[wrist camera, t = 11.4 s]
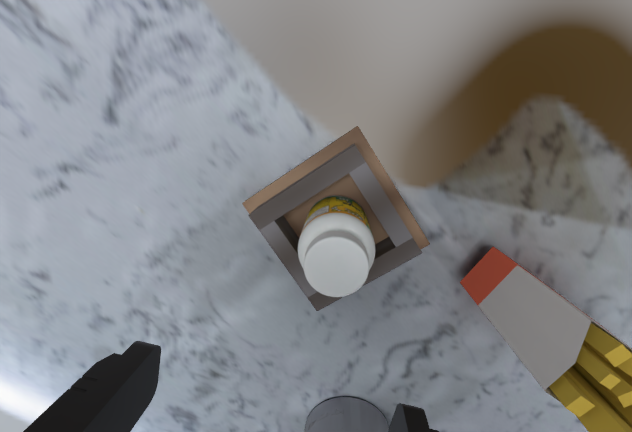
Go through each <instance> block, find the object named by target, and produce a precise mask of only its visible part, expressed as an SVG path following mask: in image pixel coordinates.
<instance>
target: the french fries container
mask: <svg viewBox="0 0 632 432" xmlns="http://www.w3.org/2000/svg"><path fill="white" fill-rule="evenodd" d="M460 283H461V284H462V286H463V287H464V288H465V290H466V291H467V292H468V293H469V295H470V296H471V297H472V299H473V300H474V301H475V302H476V304H477V305H478V306H479V307H480V309H481V310H482V311H483V313H484V314H485V315H486V316H487V318H488V319H489V320H490V322H491V323H492V324H493V325H494V327H495V328H496V329H497V331H498V332H499V333H500V334H501V336H502V337H503V338H504V340H505V341H506V342H507V343H508V345H509V346H510V347H511V348H512V350H513V351H514V352H515V354H516V355H517V356H518V357H519V359H520V360H521V361H522V363H523V364H524V365H525V366H526V368H527V369H528V370H529V372H530V373H531V374H532V375H533V377H534V378H535V379H536V381H537V382H538V383H539V384H540V386H541V387H542V388H543V389H544V391H546V392H547V393H549V394H550V395H551V396H553V397H554V398H556V399H557V400H559V401H560V402H561V403H562V404H563V405H564V406H565V408H567V409H568V410H570V411H571V412H572V413H574V414H575V415H576V416H577V418H578V419H579V420H580V421H581V423H582V424H583V425H584V426H585V427H586V429H587V430H588V431H589V432H632V348H630V347H629V346H628V345H626V344H625V343H624V342H622V341H621V340H620V339H618V338H617V337H616V336H614V335H613V334H612V333H610V332H609V331H608V330H606V329H605V328H604V327H602V326H601V325H600V324H598V323H597V322H596V321H594V320H593V319H592V318H590V317H589V316H588V315H586V314H585V313H584V312H582V311H581V310H580V309H578V308H577V307H576V306H574V305H573V304H572V303H570V302H569V301H568V300H566V299H565V298H563V297H562V296H561V295H559V294H558V293H557V292H555V291H554V290H553V289H551V288H550V287H549V286H547V285H546V284H544V283H543V282H542V281H540V280H539V279H538V278H536V277H535V276H534V275H532V274H531V273H529V272H528V271H527V270H525V269H524V268H523V267H521V266H520V265H518V264H517V263H516V262H514V261H513V260H512V259H510V258H509V257H507V256H506V255H505V254H503V253H502V252H500V251H499V250H498V249H496V248H495V247H492V248H491V249H490V250H489V251H488V252H487V253H486V255H485V256H484V257H483V258H482V259H481V260H480V261H479V262H478V263H477V264H476V265H475V266H474V268H473V269H472V270H471V271H470V272H469V273H468V274H467V275H466V276H465V277H464V278H463V279H462V280H461V282H460Z"/></svg>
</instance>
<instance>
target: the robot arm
mask: <svg viewBox="0 0 632 432" xmlns="http://www.w3.org/2000/svg"><path fill="white" fill-rule="evenodd" d="M160 356H161V347H160V346H158V345H154V344H149V343H145V342H141V341H136V342H134V343H133V344H132V345H131V346H130V347H129V348H128V349H127V350H126V351H125V352H124V353H123V354H122V355H119V354H115V353H114V354H112V355H110V356H108V357H106V358H104V359H102V360H101V361H99V362H97V363H96V364H94V365H93V366H92V367H91V368H90V369H89V370H88V371H87V372H86V373H85V374H84V375H83V377H82V378H80V379H79V380H77V381H76V382H75V383H74V384H73V385H72V386H71V388H70V389H68V390H67V391H66V392H65V393H64V394H63V395H62V396H61V397H59V398H58V399H57V400H56V401H55V402H54V403H53V404H52V405H51V406H50V407H49V408H48V409H47V410H46V411H45V412H44V413H42V414H41V415H40V416H39V417H38V418H37V419H36V420H35V421H34V422H33V423H32V424H31V425H30V426H29V427H28V428H27V429H26V430H24V431H23V432H130V431H131V430H132V428H133V427H134V425H135V424H136V422H137V421H138V420H139V418H140V417H141V415H142V414H143V413H144V411H145V410H146V408H147V407H148V405H149V404H150V402H151V400H152V398H153V396H154V394H155V391H156V388H157V384H158V375H159V365H160ZM305 432H439V431H437V430H433V429H429V425H428V422H427V419H426V415H425V412H424V410H423V409H422V408H418V407H414V406H410V405H405V404H401V403H399V404H398V405H397V407H396V410H395V413H394V416H393V419H392V422H391V425H390V428H389V426H388V423H387V421H386V418H385V417H384V416H383V414H382V413H381V412H380V411H379V410H378V409H377V408H376V407H375V406H373V405H372V404H370V403H368V402H366V401H363V400H361V399H357V398H352V397H338V398H333V399H330V400H327V401H324V402H323V403H321V404H319V405H318V406H316V407H315V408H314V409H313V410H312V411H311V413H310V415H309V416H308V418H307V422H306V426H305Z"/></svg>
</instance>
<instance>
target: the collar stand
mask: <svg viewBox="0 0 632 432" xmlns="http://www.w3.org/2000/svg"><path fill="white" fill-rule="evenodd" d="M332 195H339V196H344V197H348V198H350V199H352V200H354V201H356V202H357V203H358V204H359V205H360V206H361V207H362V209H363V210H364V212H365V214H366V216H367V220H368V223H369V226H370V229H371V232H372V235H373V238H374V242H375V258H374V262H373V264H372V266H371V268H370V270H369V273H368V277H367V279H366V281H365V283H364V284H363V285H362V286H364V285H365V284H367V283H369V282H371V281H373V280H374V279H376V278H378V277H380V276H382V275H383V274H385V273H387V272H389V271H391V270H393V269H394V268H396V267H398V266H400V265H402V264H403V263H405V262H407V261H409V260H411V259H412V258H414V257H416V256H418V255H420V254H421V253H422V251H421V250H420V249H422V248H424V247H426V246H428V245H429V244H430V243H429V241H428V240H427V238H426V237H425V235H424V233H423V232H422V230H421V228H420V227H419V225H418V223H417V222H416V220H415V219H414V217H413V215H412V214H411V212H410V210H409V209H408V207H407V205H406V204H405V202H404V201H403V199H402V197H401V196H400V194H399V192H398V191H397V189H396V188H395V186H394V184H393V183H392V181H391V179H390V178H389V176H388V174H387V173H386V171H385V170H384V168H383V166H382V165H381V163H380V161H379V160H378V158H377V156H376V155H375V153H374V152H373V150H372V148H371V147H370V145H369V144H368V142H367V140H366V139H365V137H364V135H363V134H362V132H361V130H360V129H359V127H358V126H357V127H355V128H354V129H352V130H351V131H349V132H348V133H346V134H345V135H343V136H342V137H340V138H339V139H337V140H336V141H334V142H333V143H331V144H330V145H328V146H327V147H325V148H324V149H322V150H321V151H319V152H318V153H316V154H315V155H313V156H312V157H310V158H309V159H307V160H306V161H304V162H303V163H301V164H300V165H298V166H297V167H295V168H294V169H292V170H291V171H289V172H288V173H286V174H285V175H283V176H282V177H280V178H279V179H277V180H276V181H274V182H273V183H271V184H270V185H268V186H267V187H265V188H264V189H262V190H261V191H259V192H258V193H256V194H255V195H253V196H252V197H250V198H249V199H247V200H246V201H245V202H243V203H242V204H243V205H244V207H245V208H246V210H247V211H248V212H249V217H250V218H251V220H252V221H253V222H254V224H255V225H256V227H257V228H258V229H259V231H260V232H261V234H262V235H263V236H264V238H265V239H266V241H267V242H268V243H269V245H270V246H271V248H272V249H273V250H274V252H275V253H276V254H277V256H278V257H279V259H280V260H281V261H282V263H283V264H284V266H285V267H286V268H287V270H288V271H289V273H290V274H291V275H292V277H293V278H294V280H295V281H296V282H297V284H298V285H299V287H300V288H301V289H302V291H303V292H304V294H305V295H306V296H307V298H308V299H309V301H310V302H311V303H312V305H313V306H314V308H315V309H316V310H317V311H319V310H320V309H322V308H324V307H326V306H328V305H329V304H331V303H333V302H335V301H337V300H338V299H340V298H342V297H330V296H326V295H323V294H321V293H319V292H318V291H316V290H315V289H314V288H313V287H312V286H311V285H310V284H309V282H308V281H307V279H306V276H305V273H304V269H303V267H302V266H301V263H300V261H299V257H298V242H299V238H300V235H301V232H302V229H303V227H304V224H305V221H306V218H307V215H308V213H309V211H310V209H311V208H312V207H313V206H314V204H315V203H317V202H318V201H319V200H321V199H323V198H325V197H328V196H332Z"/></svg>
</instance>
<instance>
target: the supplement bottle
mask: <svg viewBox="0 0 632 432" xmlns="http://www.w3.org/2000/svg"><path fill="white" fill-rule="evenodd" d="M298 257H299V261H300V263H301V266H302V267H303V269H304V273H305V276H306V279H307V281H308V282H309V284H310V285H311V286H312V287H313V288H314V289H315V290H316V291H318V292H319V293H321V294H323V295H326V296H330V297H344V296H347V295H350V294H352V293H354V292H356V291H357V290H358V289H359V288H361V287H362V285H363V284H364V283H365V281H366V279H367V277H368V273H369V270H370V268H371V266H372V264H373V262H374V258H375V242H374V238H373V235H372V232H371V229H370V226H369V223H368V220H367V216H366V214H365V212H364V210H363V209H362V207H361V206H360V205H359V204H358V203H357V202H356V201H354V200H352V199H350V198H348V197H344V196H339V195H332V196H328V197H325V198H323V199H321V200H319V201H318V202H317V203H315V204H314V206H313V207H312V208H311V209H310V211H309V213H308V215H307V218H306V221H305V224H304V227H303V229H302V232H301V235H300V238H299V242H298Z"/></svg>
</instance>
